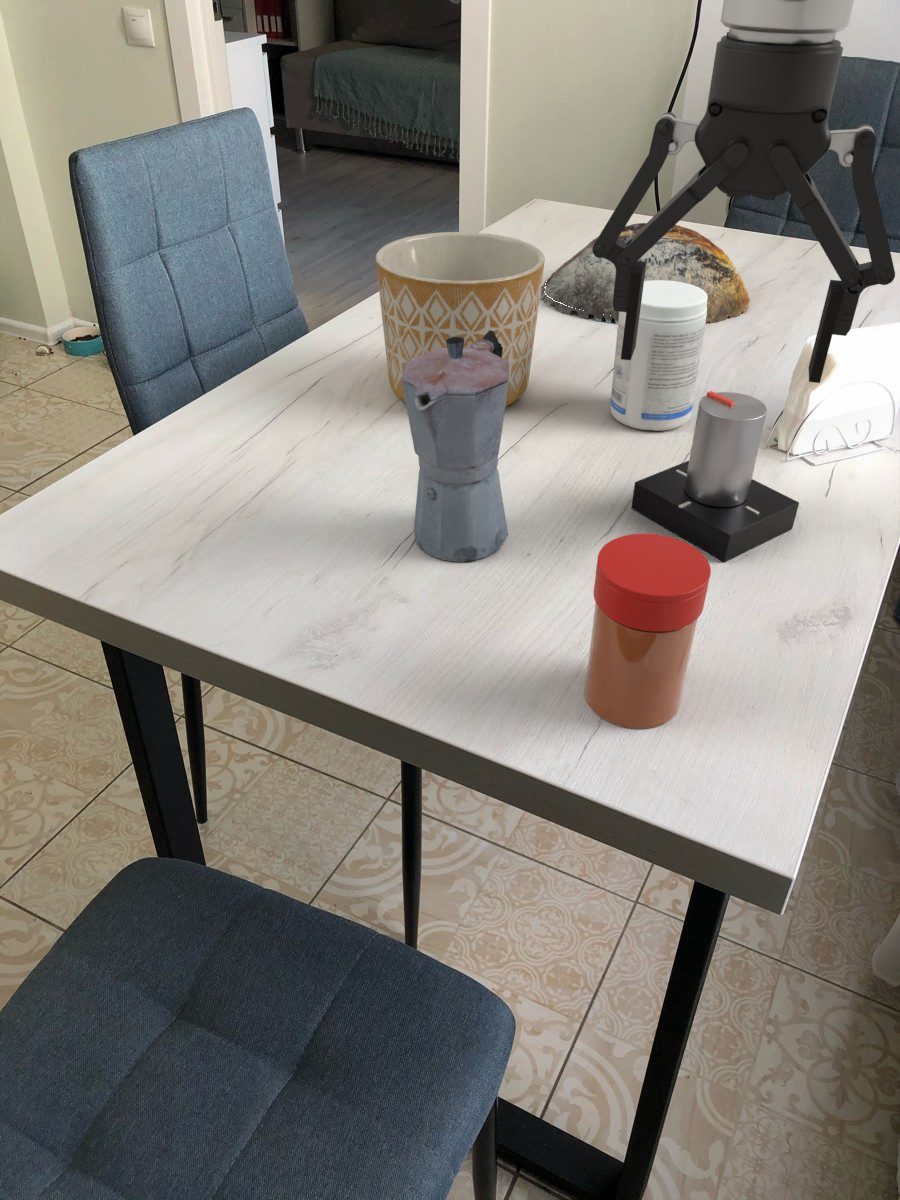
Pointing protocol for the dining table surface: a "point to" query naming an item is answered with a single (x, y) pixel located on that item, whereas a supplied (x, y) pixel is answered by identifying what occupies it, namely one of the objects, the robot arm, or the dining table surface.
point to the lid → (651, 582)
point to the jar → (636, 672)
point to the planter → (459, 298)
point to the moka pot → (458, 447)
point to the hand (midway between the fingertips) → (718, 364)
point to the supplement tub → (660, 358)
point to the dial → (724, 448)
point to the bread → (650, 276)
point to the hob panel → (714, 514)
